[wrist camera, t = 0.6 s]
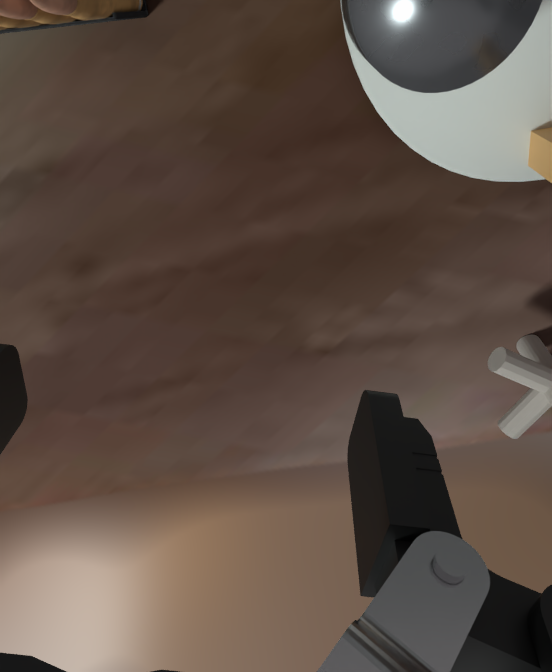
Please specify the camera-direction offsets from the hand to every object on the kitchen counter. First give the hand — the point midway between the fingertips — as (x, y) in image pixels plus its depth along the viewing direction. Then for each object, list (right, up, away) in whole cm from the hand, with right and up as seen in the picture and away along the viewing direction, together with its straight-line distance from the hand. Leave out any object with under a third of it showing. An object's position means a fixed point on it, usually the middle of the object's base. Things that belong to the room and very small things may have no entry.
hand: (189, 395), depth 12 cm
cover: (+9, +19, +14) cm, 25 cm away
